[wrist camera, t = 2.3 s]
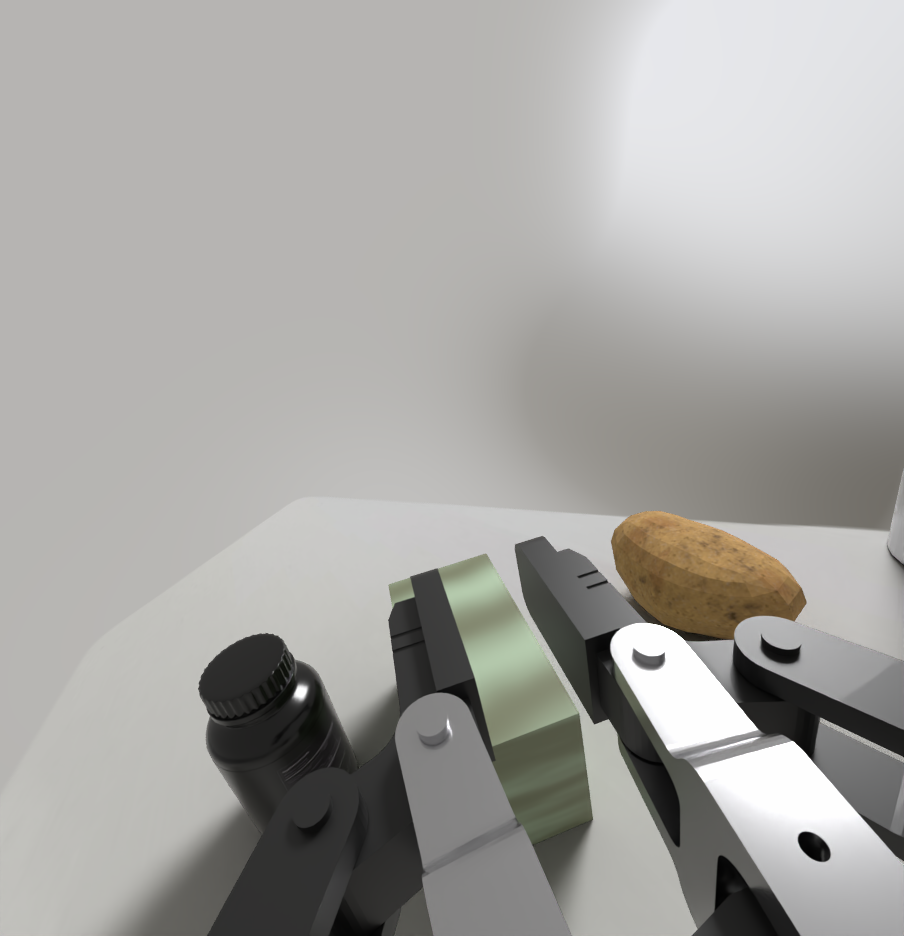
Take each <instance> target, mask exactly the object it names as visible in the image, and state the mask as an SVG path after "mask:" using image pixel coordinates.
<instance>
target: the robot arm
mask: <svg viewBox="0 0 904 936" xmlns="http://www.w3.org/2000/svg"><path fill="white" fill-rule="evenodd" d="M887 544H888V548H889V550H890V552H891V553H892V555H893V556H894V557H895V558H896V559H898V560H899V561H900V562H901V563H902V564H904V470H903V474H902V479H901V484H900V488H899V493H898V497H897V502H896V505H895V510H894V515H893V519H892V524H891V528H890V533H889V538H888V542H887ZM515 553H516V558H517V564H518V570H519V575H520V581H521V587H522V592H523V596H524V600H525V603H526V606H527V608H528V610H529V613H530V615H531V617H532V618H533V620H534V622H535V623H536V625H537V627H538V629H539V630H540V632H541V634H542V635H543V637H544V639H545V641H546V642H547V644H548V646H549V647H550V649H551V651H552V653H553V654H554V656H555V658H556V659H557V661H558V663H559V665H560V666H561V668H562V670H563V671H564V673H565V675H566V677H567V678H568V680H569V682H570V684H571V685H572V687H573V689H574V690H575V692H576V694H577V696H578V697H579V699H580V701H581V702H582V704H583V706H584V708H585V709H586V711H587V713H588V714H589V716H590V718H591V720H592V721H593V723H594V724H597V723H599V722H602V721H605V720H607V719H609V720H610V722H611V723H612V725H613V727H614V728H615V730H616V731H617V734H618V745H619V750H620V752H621V755H622V757H623V759H624V761H625V763H626V765H627V767H628V769H629V771H630V773H631V775H632V777H633V779H634V781H635V783H636V785H637V787H638V790H639V792H640V794H641V796H642V798H643V800H644V802H645V804H646V806H647V808H648V810H649V812H650V814H651V816H652V818H653V820H654V822H655V824H656V826H657V828H658V830H659V832H660V834H661V836H662V838H663V841H664V843H665V845H666V847H667V849H668V851H669V853H670V855H671V857H672V860H673V862H674V865H675V868H676V871H677V874H678V877H679V881H680V885H681V888H682V891H683V894H684V897H685V900H686V903H687V905H688V908H689V910H690V913H691V915H692V918H693V920H694V922H695V924H696V927H697V929H698V930H697V931H696V932H695V933H694V934H693V935H692V936H904V865H903V864H902V863H901V862H900V860H899V859H898V858H900V859H901V860H903V861H904V763H903V762H900V761H898V760H896V759H894V758H892V757H890V756H888V755H886V754H884V753H882V752H880V751H878V750H876V749H874V748H871V747H869V746H867V745H865V744H863V743H861V742H859V741H857V740H855V739H853V738H851V737H849V736H847V735H844V734H842V733H840V732H838V731H836V730H834V729H832V728H830V727H828V726H826V725H824V724H822V723H820V717H821V718H823V719H825V720H827V721H829V722H831V723H833V724H836V725H838V726H840V727H842V728H844V729H846V730H848V731H850V732H852V733H854V734H857V735H859V736H861V737H863V738H865V739H867V740H869V741H871V742H873V743H876V744H878V745H880V746H882V747H884V748H886V749H888V750H890V751H892V752H894V753H897V754H899V755H901V756H903V757H904V661H902V660H900V659H897V658H894V657H891V656H888V655H886V654H883V653H880V652H877V651H875V650H872V649H869V648H866V647H864V646H861V645H858V644H855V643H852V642H850V641H847V640H844V639H841V638H839V637H836V636H833V635H830V634H827V633H825V632H822V631H819V630H816V629H814V628H811V627H808V626H805V625H802V624H800V623H797V622H794V621H791V620H788V619H785V618H780V617H774V616H756V617H751V618H748V619H746V620H744V621H742V622H741V623H739V624H738V626H737V627H736V629H735V633H734V640H719V641H700V642H692V641H684V640H683V639H682V638H681V637H680V636H679V635H677V634H676V633H674V632H673V631H671V630H669V629H667V628H665V627H662V626H659V625H654V624H648V623H647V622H646V621H645V620H644V619H643V618H642V617H641V616H640V615H639V614H638V613H637V612H636V610H635V609H634V608H633V607H632V606H631V605H630V604H629V603H628V602H627V601H626V600H625V599H624V597H623V596H622V595H621V594H620V593H619V592H618V591H617V590H616V589H615V588H614V587H613V586H612V585H611V583H608V581H607V579H606V578H605V577H604V576H603V575H602V574H601V573H600V572H598V569H597V568H596V567H595V566H594V565H593V564H592V563H591V562H590V561H589V560H588V559H587V558H586V557H585V556H583V555H581V554H579V553H577V552H575V551H573V550H570V549H565V550H562V551H559V552H557V551H556V550H555V549H554V548H553V547H552V545H551V544H550V543H549V542H548V541H547V539H546V538H545V537H543V536H541V537H538V538H534V539H531V540H528V541H525V542H521V543H518V544H516V545H515ZM410 579H411V583H412V587H413V592H414V596H415V597H413V598H410V599H406V600H403V601H400V602H397V603H395V604H394V607H393V609H392V612H391V614H390V617H389V620H388V621H389V628H390V636H391V643H392V651H393V658H394V666H395V674H396V681H397V689H398V696H399V704H400V719H399V721H398V724H397V727H396V731H395V734H394V735H393V737H392V739H391V740H390V742H389V743H388V744H387V746H386V747H385V748H384V749H383V750H382V751H381V752H380V753H379V754H378V755H377V756H375V757H374V758H373V759H371V760H370V761H369V762H367V763H366V764H365V765H363V766H362V767H360V768H359V769H358V770H356V771H355V772H354V773H352V774H351V775H350V774H349V773H348V772H346V771H345V770H343V769H339V768H333V767H329V768H322V769H319V770H316V771H314V772H312V773H310V774H308V775H306V776H305V777H303V778H302V779H301V780H299V781H298V782H297V783H296V784H295V785H294V786H293V787H292V788H291V789H290V790H289V791H288V792H287V794H286V795H285V796H284V797H283V799H282V801H281V802H280V804H279V805H278V807H277V809H276V811H275V813H274V815H273V816H272V818H271V820H270V822H269V824H268V825H267V827H266V829H265V831H264V833H263V835H262V836H261V838H260V840H259V842H258V844H257V846H256V847H255V849H254V851H253V853H252V855H251V857H250V858H249V860H248V862H247V864H246V866H245V868H244V869H243V871H242V873H241V875H240V877H239V879H238V880H237V882H236V884H235V886H234V888H233V890H232V891H231V893H230V895H229V897H228V899H227V900H226V902H225V904H224V906H223V908H222V910H221V911H220V913H219V915H218V917H217V919H216V921H215V922H214V924H213V926H212V928H211V930H210V932H209V933H208V935H207V936H394V933H395V929H396V926H397V922H398V918H399V915H400V910H401V906H402V905H404V904H405V903H406V902H407V901H408V900H409V899H410V898H411V897H412V896H413V895H415V894H416V893H417V892H418V891H419V890H420V889H421V888H422V887H423V888H424V894H425V899H426V904H427V908H428V913H429V918H430V922H431V927H432V932H433V936H572V935H571V933H570V930H569V928H568V926H567V924H566V921H565V919H564V917H563V914H562V912H561V910H560V908H559V905H558V903H557V901H556V898H555V896H554V894H553V892H552V889H551V887H550V885H549V882H548V880H547V878H546V875H545V873H544V871H543V869H542V866H541V864H540V862H539V859H538V857H537V855H536V853H535V850H534V848H533V846H532V844H531V841H530V839H529V837H528V835H527V833H526V831H525V829H524V827H523V825H522V824H521V822H520V821H519V822H518V820H517V819H516V817H515V815H514V813H513V811H512V808H511V806H510V804H509V801H508V799H507V797H506V794H505V792H504V790H503V787H502V785H501V783H500V780H499V778H498V776H497V773H496V771H495V769H494V766H493V764H492V762H494V761H496V759H495V755H494V752H493V748H492V744H491V740H490V736H489V732H488V728H487V724H486V720H485V716H484V712H483V708H482V704H481V700H480V696H479V692H478V688H477V684H476V680H475V677H474V674H473V671H472V668H471V665H470V662H469V659H468V656H467V653H466V650H465V647H464V644H463V642H462V639H461V636H460V633H459V630H458V627H457V624H456V621H455V618H454V615H453V612H452V609H451V606H450V603H449V600H448V597H447V594H446V591H445V589H444V586H443V583H442V580H441V577H440V574H439V571H438V568H437V569H434V570H430V571H427V572H424V573H421V574H417V575H414V576H411V577H410ZM897 857H898V858H897Z"/></svg>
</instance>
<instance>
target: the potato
mask: <svg viewBox="0 0 904 936" xmlns="http://www.w3.org/2000/svg"><path fill="white" fill-rule="evenodd" d="M611 544H612V549H613V554H614V559H615V565H616V570H617V571H618V573H619V575H620V576H621V578H622V579H623V581H624V583H625V584H626V586H627V587H628V589H629V591H630V592H631V594H632V596H633V597H634V599H635V600H636V601H637V602H638V603H639V604H640V605H641V606H642V607H643V608H644V609H645V610H646V611H647V612H648V613H650V614H651V615H652V616H653V617H655V618H656V619H657V620H658V621H660V622H661V623H662V624H664V625H667V626H670V627H673V628H676V629H679V630H682V631H686V632H691V633H697V634H702V635H707V636H712V637H716V638H722V639H729V640H734V633H735V629H736V627H737V626H738V624H739V623H741V622H742V621H744V620H746V619H748V618H751V617H756V616H774V617H780V618H785V619H788V620H791V621H795V620H796V618H797V617H798V615H799V614H800V612H801V611H802V609H803V608H804V606H805V605H806V603H807V602H806V599H805V596H804V594H803V591H802V588H801V587H800V585H799V584H798V583H797V581H796V580H795V579H794V577H793V576H792V575H791V573H790V572H789V571H788V569H787V568H786V567H785V566H783V565H782V564H781V563H780V562H779V561H778V560H777V559H775V558H773V557H771V556H770V555H768V554H766V553H764V552H763V551H761V550H759V549H757V548H755V547H754V546H752V545H750V544H748V543H746V542H745V541H743V540H741V539H739V538H737V537H735V536H733V535H731V534H728V533H726V532H724V531H722V530H719V529H716V528H713V527H710V526H707V525H704V524H701V523H698V522H694V521H691V520H688V519H685V518H682V517H680V516H677V515H673V514H670V513H665V512H661V511H648V512H647V511H646V512H642V513H638V514H635V515H631V516H630V517H628V518H627V519H626V520H625V521H623V522H622V523H621V524H620V525H619V526H618V527H617V528H616V529H615V530H614V533H613V537H612V540H611Z"/></svg>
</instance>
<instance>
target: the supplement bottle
mask: <svg viewBox="0 0 904 936" xmlns="http://www.w3.org/2000/svg"><path fill="white" fill-rule="evenodd" d="M199 685H200V686H199V688H198V690H199V692H200V697H201V699H202V701H203V702H204V704H205V706H206V707H207V711H208V713H209V715H210V718H209V721H208V725H207V730H206V745H207V749H208V752H209V754H210V756H211V758H212V760H213V762H214V763H215V765H216V766H217V768H218V769H219V771H220V772H221V774H222V775H223V777H224V778H225V780H226V782H227V783H228V785H229V786H230V788H231V789H232V791H233V792H234V794H235V795H236V797H237V798H238V800H239V801H240V803H241V804H242V806H243V808H244V809H245V811H246V812H247V814H248V815H249V817H250V818H251V820H252V821H253V823H254V824H255V826H256V827H257V829H258V830H259V831H260V833H261V834H262V835H263V833H264V831H265V829H266V827H267V825H268V824H269V822H270V820H271V818H272V816H273V815H274V813H275V811H276V809H277V807H278V805H279V804H280V802H281V801H282V799H283V797H284V796H285V795H286V794H287V792H288V791H289V790H290V789H291V788H292V787H293V786H294V785H295V784H296V783H297V782H298V781H299V780H301V779H302V778H303V777H305V776H306V775H308V774H310V773H312V772H314V771H316V770H319V769H322V768H329V767H333V768H339V769H343V770H345V771H346V772H348V773H349V774H350V775H351V774H352V773H354V772H355V771H356V770H357V762H356V758H355V755H354V752H353V750H352V747H351V745H350V743H349V740H348V738H347V736H346V734H345V731H344V729H343V727H342V725H341V722H340V720H339V718H338V716H337V713H336V711H335V709H334V707H333V704H332V702H331V700H330V698H329V695H328V693H327V691H326V689H325V686H324V684H323V682H322V680H321V678H320V676H319V674H318V673H317V671H316V670H315V669H314V668H313V667H311V666H310V665H308V664H306V663H304V662H302V661H298V660H295V659H294V657H293V655H292V654H291V653H290V652H289V651H288V648H287V646H286V645H285V643H284V641H283V640H282V639H281V638H280V637H279V636H275V635H274V634H268V633H266V634H257V635H252V636H250V637H245V638H244V639H242V640H239V641H237V642H235V643H234V644H232V645H230V646H229V647H227V648H226V649H224V650H223V651H222V652H221V653H220V654H218V655H217V656H216V657H215V658H214V659H213V660H212V661H211V662H210V663H209V665H208V667H207V668H206V669H205V670H204V673H203V674H202V675H201V680H200V681H199Z"/></svg>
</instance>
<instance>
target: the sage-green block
mask: <svg viewBox="0 0 904 936" xmlns="http://www.w3.org/2000/svg"><path fill="white" fill-rule="evenodd" d="M438 571H439V574H440V577H441V580H442V583H443V586H444V589H445V591H446V594H447V597H448V600H449V603H450V606H451V609H452V612H453V615H454V618H455V621H456V624H457V627H458V630H459V633H460V636H461V639H462V642H463V644H464V647H465V650H466V653H467V656H468V659H469V662H470V665H471V668H472V671H473V674H474V677H475V680H476V684H477V688H478V692H479V696H480V700H481V704H482V708H483V712H484V716H485V720H486V724H487V728H488V732H489V736H490V740H491V744H492V748H493V752H494V755H495V759H496V761H494V762H492V764H493V766H494V769H495V771H496V773H497V776H498V778H499V780H500V783H501V785H502V787H503V790H504V792H505V794H506V797H507V799H508V801H509V804H510V806H511V808H512V811H513V813H514V815H515V817H516V819H517V820H518V822H519V821H520V822H521V824H522V825H523V827H524V829H525V831H526V833H527V835H528V837H529V839H530V841H531V844H532V845H534V844H536V843H539V842H541V841H543V840H546V839H548V838H551V837H553V836H555V835H558V834H560V833H562V832H565V831H567V830H569V829H572V828H574V827H576V826H579V825H581V824H584V823H586V822H588V821H591V820H593V816H592V808H591V800H590V793H589V785H588V777H587V770H586V762H585V754H584V747H583V739H582V731H581V724H580V716H579V712H578V710H577V709H576V707H575V705H574V703H573V702H572V700H571V698H570V697H569V695H568V693H567V691H566V690H565V688H564V686H563V685H562V683H561V681H560V679H559V678H558V676H557V674H556V672H555V671H554V669H553V667H552V666H551V664H550V662H549V660H548V659H547V657H546V655H545V654H544V652H543V650H542V648H541V647H540V645H539V643H538V642H537V640H536V638H535V636H534V635H533V633H532V631H531V630H530V628H529V626H528V624H527V623H526V621H525V619H524V618H523V616H522V614H521V612H520V611H519V609H518V607H517V606H516V604H515V602H514V600H513V599H512V597H511V595H510V593H509V592H508V590H507V588H506V587H505V585H504V583H503V581H502V580H501V578H500V576H499V575H498V573H497V571H496V569H495V568H494V566H493V564H492V563H491V561H490V559H489V557H488V556H487V554H483V555H480V556H477V557H474V558H470V559H467V560H464V561H461V562H458V563H455V564H452V565H449V566H445V567H442V568H439V569H438ZM389 591H390V596H391V602H392V608H393V607H394V604H395V603H397V602H400V601H403V600H406V599H410V598H413V597H415V596H414V592H413V587H412V583H411V579H410V578H408V579H405V580H402V581H399V582H395V583H392V584H389Z"/></svg>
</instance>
